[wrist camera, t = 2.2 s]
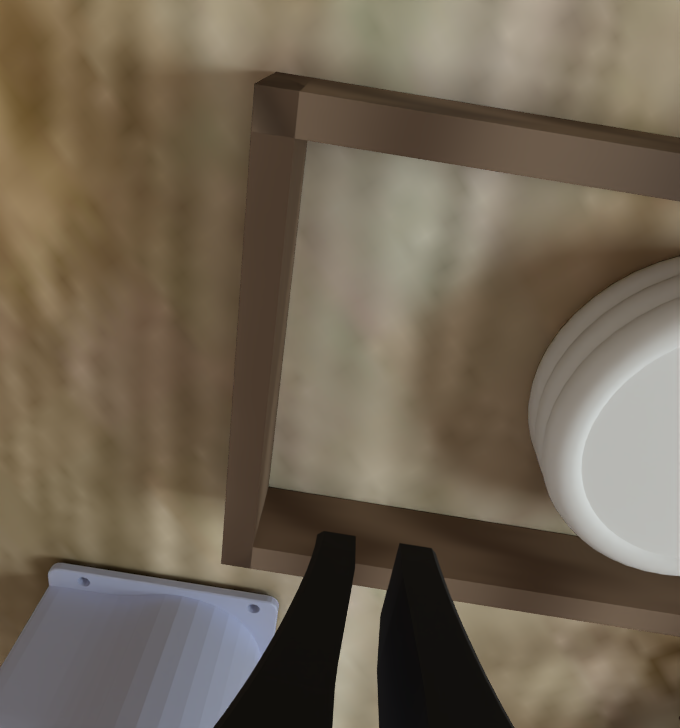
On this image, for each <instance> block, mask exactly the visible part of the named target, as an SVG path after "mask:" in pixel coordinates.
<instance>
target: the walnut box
mask: <svg viewBox="0 0 680 728" xmlns="http://www.w3.org/2000/svg"><path fill="white" fill-rule="evenodd" d="M307 141H314V142H320V143H326V144H332V145H338V146H344V147H350V148H357V149H363V150H369V151H375V152H381V153H387V154H393V155H399V156H406V157H412V158H418V159H424V160H430V161H436V162H442V163H448V164H455V165H461V166H467V167H473V168H479V169H485V170H491V171H497V172H504V173H510V174H516V175H522V176H528V177H534V178H540V179H546V180H553V181H559V182H565V183H571V184H577V185H583V186H589V187H596V188H602V189H608V190H614V191H620V192H626V193H632V194H638V195H645V196H651V197H657V198H663V199H669V200H675V201H680V138H677V137H671V136H664V135H658V134H652V133H646V132H640V131H634V130H628V129H622V128H616V127H609V126H603V125H597V124H591V123H585V122H579V121H573V120H567V119H561V118H555V117H548V116H542V115H536V114H530V113H524V112H518V111H512V110H506V109H500V108H494V107H487V106H481V105H475V104H469V103H463V102H457V101H451V100H445V99H439V98H432V97H426V96H420V95H414V94H408V93H402V92H396V91H390V90H384V89H378V88H371V87H365V86H359V85H353V84H347V83H341V82H335V81H329V80H323V79H316V78H310V77H304V76H298V75H292V74H286V73H280V72H275V73H274V74H272V75H270V76H268V77H266V78H264V79H263V80H261V81H259V82H257V83H255V84H254V98H253V112H252V127H251V141H250V156H249V170H248V185H247V199H246V213H245V228H244V242H243V257H242V271H241V285H240V300H239V314H238V329H237V343H236V358H235V372H234V386H233V401H232V415H231V430H230V444H229V458H228V473H227V487H226V502H225V516H224V531H223V545H222V559H221V564H226V565H232V566H238V567H244V568H251V569H257V570H263V571H270V572H276V573H282V574H289V575H295V576H301V577H304V575H305V573H306V570H307V568H308V565H309V562H310V560H311V557H312V553H313V550H314V547H315V543H316V538H317V534H319V533H321V532H323V531H328V532H334V533H340V534H347V535H353V536H356V556H355V571H354V577H353V583H352V585H358V586H364V587H370V588H377V589H383V590H387V589H388V585H389V581H390V577H391V574H392V570H393V566H394V562H395V558H396V554H397V551H398V547H399V543H403V544H409V545H416V546H422V547H428V548H432V549H433V550H434V552H435V553H436V556H437V559H438V562H439V565H440V568H441V571H442V574H443V577H444V579H445V582H446V585H447V588H448V590H449V593H450V595H451V598H452V600H453V601H459V602H465V603H471V604H478V605H484V606H490V607H496V608H503V609H509V610H515V611H522V612H528V613H534V614H540V615H547V616H553V617H559V618H566V619H572V620H578V621H585V622H591V623H597V624H603V625H610V626H616V627H622V628H629V629H635V630H641V631H648V632H654V633H660V634H666V635H673V636H679V637H680V576H673V575H663V574H658V573H652V572H647V571H643V570H639V569H636V568H633V567H630V566H626V565H624V564H622V563H619V562H617V561H615V560H612V559H610V558H608V557H606V556H605V555H603V554H601V553H600V552H598V551H596V550H595V549H593V548H592V547H591V546H589V545H588V544H587V543H586V542H584V541H583V540H582V539H581V538H580V537H577V536H571V535H565V534H558V533H552V532H546V531H540V530H533V529H527V528H521V527H515V526H508V525H502V524H496V523H490V522H483V521H477V520H471V519H464V518H458V517H452V516H446V515H439V514H433V513H427V512H421V511H414V510H408V509H402V508H396V507H389V506H383V505H377V504H371V503H364V502H358V501H352V500H345V499H339V498H333V497H327V496H320V495H314V494H308V493H302V492H295V491H289V490H283V489H277V488H270V487H268V486H269V477H270V468H271V459H272V450H273V442H274V433H275V424H276V415H277V406H278V397H279V388H280V379H281V370H282V361H283V352H284V344H285V335H286V326H287V317H288V308H289V299H290V290H291V281H292V272H293V263H294V254H295V245H296V237H297V228H298V219H299V210H300V201H301V192H302V183H303V174H304V165H305V156H306V147H307Z"/></svg>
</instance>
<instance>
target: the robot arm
mask: <svg viewBox="0 0 680 728" xmlns="http://www.w3.org/2000/svg"><path fill="white" fill-rule="evenodd" d="M355 556H356V536H353V535H347V534H340V533H334V532H328V531H323V532H321V533H319V534H317V538H316V543H315V547H314V550H313V553H312V557H311V560H310V562H309V565H308V568H307V570H306V573H305V575H304V577H303V580H302V582H301V584H300V586H299V589H298V591H297V593H296V595H295V597H294V599H293V601H292V603H291V605H290V607H289V609H288V611H287V613H286V615H285V617H284V619H283V620H282V622H281V624H280V626H279V628H278V630H277V631H276V633H275V630H276V622H277V615H278V608H279V603H278V601H277V600H276V599H275V598H273V597H272V596H268V595H263V594H256V593H250V592H244V591H237V590H231V589H225V588H218V587H212V586H206V585H199V584H193V583H187V582H181V581H174V580H168V579H162V578H155V577H149V576H143V575H136V574H130V573H124V572H117V571H111V570H105V569H99V568H92V567H86V566H80V565H73V564H67V563H56V564H54V565H53V566H52V567H51V568H50V570H49V572H48V581H49V587H48V588H47V590H46V592H45V593H44V595H43V597H42V598H41V600H40V602H39V603H38V605H37V607H36V609H35V610H34V612H33V614H32V615H31V617H30V619H29V620H28V622H27V624H26V625H25V627H24V629H23V630H22V632H21V634H20V635H19V637H18V639H17V640H16V642H15V644H14V645H13V647H12V649H11V650H10V652H9V654H8V656H7V657H6V659H5V661H4V662H3V664H2V666H1V667H0V728H332V723H333V707H334V691H335V682H336V674H337V666H338V660H339V655H340V649H341V644H342V638H343V632H344V627H345V621H346V616H347V610H348V605H349V599H350V594H351V588H352V583H353V577H354V571H355ZM253 604H254V605H253ZM377 682H378V709H379V728H514V726H513V725H512V723H511V721H510V719H509V717H508V716H507V714H506V712H505V710H504V708H503V707H502V705H501V703H500V701H499V699H498V697H497V695H496V693H495V691H494V689H493V688H492V686H491V684H490V682H489V680H488V678H487V676H486V674H485V672H484V670H483V668H482V666H481V664H480V662H479V660H478V657H477V655H476V653H475V651H474V649H473V647H472V644H471V642H470V640H469V638H468V636H467V634H466V631H465V629H464V627H463V625H462V622H461V620H460V618H459V615H458V613H457V610H456V608H455V605H454V603H453V600H452V598H451V595H450V593H449V590H448V588H447V585H446V582H445V579H444V577H443V574H442V571H441V568H440V565H439V562H438V559H437V556H436V553H435V552H434V550H433V549H432V548H428V547H422V546H416V545H409V544H403V543H399V547H398V551H397V554H396V558H395V562H394V566H393V570H392V574H391V577H390V581H389V585H388V589H387V593H386V597H385V600H384V604H383V608H382V612H381V616H380V631H379V646H378V663H377Z"/></svg>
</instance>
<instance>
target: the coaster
mask: <svg viewBox="0 0 680 728" xmlns="http://www.w3.org/2000/svg"><path fill="white" fill-rule="evenodd" d="M528 424H529V431H530V437H531V441H532V444H533V447H534V450H535V453H536V455H537V460H538V463H539V466H540V469H541V472H542V474H543V476H544V482H545V485H546V488H547V491H548V494H549V497H550V499H551V501H552V503H553V504H554V506H555V508H556V510H557V512H558V513H559V514H560V516H561V517H562V518H563V520H564V521H565V522H566V523H567V525H568V526H569V527H570V528H571V529H572V530H573V531H574V532H575V533H576V534H577V535H578V536H579V537H580V538H581V539H582V540H583V541H584V542H586V543H587V544H588V545H589V546H591V547H592V548H593V549H595V550H596V551H598V552H600V553H601V554H603V555H605V556H606V557H608V558H610V559H612V560H615V561H617V562H619V563H622V564H624V565H626V566H630V567H633V568H636V569H639V570H643V571H647V572H652V573H658V574H663V575H673V576H680V256H679V257H675V258H672V259H668V260H665V261H661V262H658V263H656V264H653V265H651V266H648V267H646V268H643V269H641V270H638V271H636V272H634V273H632V274H630V275H628V276H627V277H625V278H623V279H621V280H619V281H617V282H616V283H614V284H612V285H611V286H609V287H608V288H606V289H605V290H604V291H602V292H601V293H599V294H598V295H596V296H595V297H594V298H592V299H591V300H590V301H589V302H588V303H587V304H585V305H584V306H583V307H582V308H581V309H580V310H578V311H577V312H576V313H575V314H574V315H573V316H572V317H571V318H570V320H569V321H568V322H567V323H566V324H565V325H564V326H563V327H562V328H561V329H560V331H559V332H558V334H557V335H556V337H555V338H554V339H553V341H552V342H551V344H550V345H549V347H548V348H547V350H546V352H545V354H544V356H543V358H542V360H541V362H540V364H539V366H538V369H537V372H536V374H535V377H534V380H533V383H532V388H531V393H530V399H529V404H528Z"/></svg>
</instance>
